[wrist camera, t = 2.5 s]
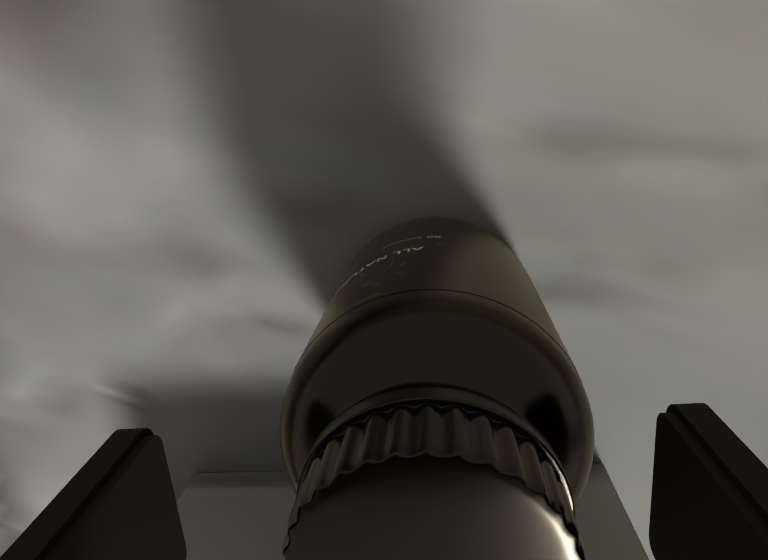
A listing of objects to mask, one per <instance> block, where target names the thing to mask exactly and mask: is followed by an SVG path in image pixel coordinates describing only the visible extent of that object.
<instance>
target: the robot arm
mask: <svg viewBox="0 0 768 560" xmlns="http://www.w3.org/2000/svg"><path fill="white" fill-rule="evenodd" d="M649 540H650V546H651V550H652V553H653V555H654V557H655V559H656V560H768V468H767V467H766V466H765V465H764V464H763V463H762V462H761V461H760V460H759V459H758V458H757V457H756V456H755V454H754V453H753V452H752V451H751V450H750V449H749V448H748V447H747V446H746V445H745V444H744V443H743V442H742V441H741V440H740V439H739V438H738V437H737V436H736V435H735V433H734V432H733V431H732V430H731V429H730V428H729V427H728V426H727V425H726V424H725V423H724V422H723V421H722V420H721V419H720V418H719V417H718V416H717V415H716V414H715V413H714V411H713V410H712V409H711V408H710V407H709V406H708V405H706V404H705V403H691V404H671V405H669V406H668V408H667V411H666V413H660V414H659V415H658V417H657V424H656V438H655V453H654V468H653V482H652V497H651V511H650V526H649ZM186 557H187V548H186V542H185V538H184V534H183V529H182V525H181V521H180V517H179V512H178V508H177V504H176V499H175V495H174V491H173V486H172V482H171V478H170V473H169V469H168V465H167V460H166V456H165V452H164V447H163V443H162V440H161V438H160V437H159V436H158V435H153V432H152V431H151V430H150V429H148V428H136V429H119V430H116V431H115V432H114V433H113V434H112V435H111V436H110V437H109V438H108V439H107V441H106V442H105V443H104V444H103V445H102V446H101V447H100V448H99V449H98V450H97V452H96V453H95V454H94V455H93V456H92V457H91V458H90V459H89V460H88V461H87V463H86V464H85V465H84V466H83V467H82V468H81V469H80V470H79V471H78V473H77V474H76V475H75V476H74V477H73V478H72V479H71V480H70V481H69V482H68V484H67V485H66V486H65V487H64V488H63V489H62V490H61V491H60V492H59V493H58V495H57V496H56V497H55V498H54V499H53V500H52V501H51V502H50V503H49V504H48V506H47V507H46V508H45V509H44V510H43V511H42V512H41V513H40V514H39V515H38V517H37V518H36V519H35V520H34V521H33V522H32V523H31V524H30V525H29V526H28V528H27V529H26V530H25V531H24V532H23V533H22V534H21V535H20V536H19V538H18V539H17V540H16V541H15V542H14V543H13V544H12V545H11V546H10V547H9V549H8V550H7V551H6V552H5V553H4V554H3V555H2V556H1V557H0V560H186Z"/></svg>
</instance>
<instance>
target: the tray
mask: <svg viewBox="0 0 768 560" xmlns="http://www.w3.org/2000/svg"><path fill="white" fill-rule="evenodd" d="M295 500H296V494H295V492H294V490H293V488H292V485H291V483H290V481H289V478H288V475H287V472H286V471H264V472H222V473H195V474H194V475H193V477H192V478H191V480H190V481H189V483H188V485H187V486H186V488H185V489H184V491H183V492H182V494H181V496H180V497H179V499H178V500H177V502H176V504H177V508H178V512H179V517H180V521H181V525H182V529H183V534H184V538H185V542H186V548H187V557H186V560H284V557H283V553H282V549H283V543H284V539H285V536H286V533H287V530H288V520H289V517H290V514H291V511H292V508H293V506H294V503H295ZM575 518H576V523H577V527H578V530H579V533H580V536H581V539H582V542H583V545H584V549H585V552H586V560H649V558H648V556H647V554H646V552H645V550H644V548H643V546H642V544H641V542H640V540H639V538H638V536H637V533H636V531H635V529H634V527H633V525H632V523H631V521H630V519H629V517H628V515H627V513H626V511H625V509H624V506H623V504H622V502H621V500H620V498H619V496H618V494H617V492H616V490H615V488H614V486H613V484H612V481H611V479H610V477H609V475H608V473H607V471H606V469H605V467H604V465H603V463H600V464H592V466H591V470H590V474H589V478H588V481H587V484H586V486H585V489H584V492H583V494H582V496H581V498H580V500H579V502H578V504H577V506H576V507H575Z"/></svg>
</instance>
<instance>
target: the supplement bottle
mask: <svg viewBox="0 0 768 560" xmlns="http://www.w3.org/2000/svg"><path fill="white" fill-rule="evenodd" d="M280 445H281V451H282V457H283V462H284V465H285V469H286V472H287V475H288V478H289V481H290V483H291V485H292V488H293V490H294V492H295V494H296V500H295V503H294V506H293V508H292V511H291V514H290V517H289V520H288V530H287V533H286V536H285V539H284V543H283V549H282V553H283V557H284V560H586V552H585V549H584V545H583V542H582V539H581V536H580V533H579V530H578V527H577V523H576V518H575V507H576V506H577V504H578V502H579V500H580V498H581V496H582V494H583V492H584V489H585V486H586V484H587V481H588V478H589V474H590V470H591V466H592V462H593V454H594V424H593V417H592V412H591V408H590V404H589V401H588V398H587V395H586V392H585V389H584V386H583V384H582V381H581V379H580V377H579V375H578V372H577V370H576V368H575V366H574V364H573V362H572V360H571V358H570V356H569V354H568V352H567V350H566V348H565V346H564V344H563V342H562V340H561V338H560V336H559V334H558V332H557V330H556V328H555V326H554V324H553V322H552V320H551V318H550V316H549V314H548V312H547V310H546V308H545V306H544V305H543V303H542V301H541V299H540V297H539V295H538V293H537V291H536V289H535V287H534V285H533V283H532V281H531V279H530V277H529V275H528V274H527V272H526V270H525V268H524V267H523V265H522V264H521V262H520V261H519V259H518V258H517V257H516V255H515V254H514V253H513V252H512V251H511V250H510V249H509V248H508V247H507V246H506V245H505V244H504V243H503V242H502V241H501V240H499V239H498V238H497V237H495V236H494V235H492V234H491V233H489V232H487V231H486V230H484V229H482V228H480V227H477V226H475V225H473V224H470V223H467V222H463V221H459V220H454V219H447V218H425V219H418V220H413V221H409V222H405V223H402V224H400V225H397V226H394V227H392V228H390V229H388V230H386V231H385V232H383V233H382V234H380V235H378V236H377V237H376V238H374V239H373V240H372V241H371V242H369V243H368V244H367V245H366V246H365V247H364V248H363V249H362V250H361V251H360V252H359V254H358V255H357V256H356V257H355V259H354V260H353V262H352V263H351V264H350V266H349V268H348V269H347V271H346V273H345V274H344V276H343V278H342V280H341V282H340V284H339V286H338V288H337V289H336V291H335V293H334V295H333V297H332V299H331V301H330V303H329V305H328V306H327V308H326V310H325V312H324V314H323V316H322V318H321V320H320V322H319V323H318V325H317V327H316V329H315V331H314V333H313V335H312V337H311V339H310V340H309V342H308V344H307V346H306V348H305V350H304V352H303V354H302V356H301V357H300V359H299V361H298V363H297V365H296V367H295V369H294V372H293V374H292V377H291V379H290V382H289V384H288V387H287V389H286V393H285V396H284V400H283V403H282V410H281V416H280Z"/></svg>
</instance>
